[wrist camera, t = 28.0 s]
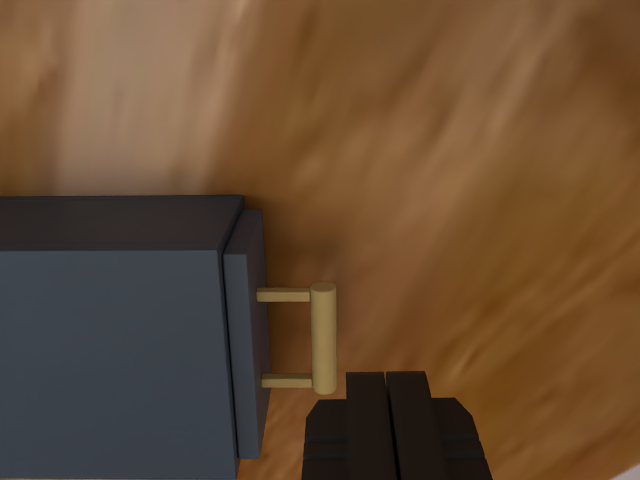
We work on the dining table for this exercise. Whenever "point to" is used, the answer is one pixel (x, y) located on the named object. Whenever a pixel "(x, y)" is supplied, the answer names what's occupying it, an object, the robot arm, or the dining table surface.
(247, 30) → the dining table surface
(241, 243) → the drawer
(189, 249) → the cabinet
